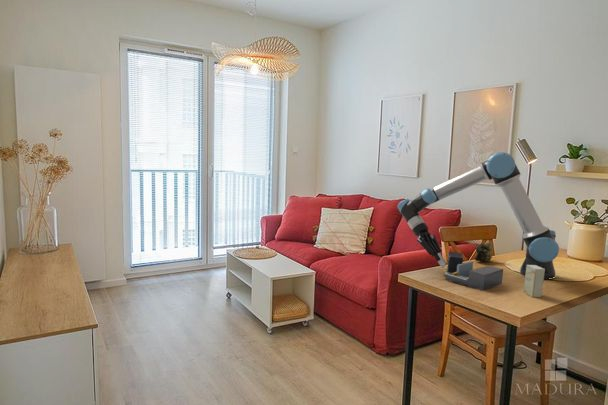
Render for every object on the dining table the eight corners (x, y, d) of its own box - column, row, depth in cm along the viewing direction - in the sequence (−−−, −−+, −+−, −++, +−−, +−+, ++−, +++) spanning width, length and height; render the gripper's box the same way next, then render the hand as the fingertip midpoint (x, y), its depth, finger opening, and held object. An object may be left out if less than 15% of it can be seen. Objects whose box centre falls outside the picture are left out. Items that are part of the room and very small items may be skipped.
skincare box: (522, 292, 175) (525, 264, 173) (532, 292, 175) (535, 264, 173) (532, 297, 168) (535, 268, 167) (542, 297, 169) (545, 268, 167)
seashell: (466, 258, 230) (468, 241, 229) (485, 258, 232) (487, 241, 230) (476, 263, 220) (478, 245, 219) (496, 263, 221) (498, 245, 220)
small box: (461, 279, 189) (463, 257, 188) (446, 278, 191) (448, 256, 190) (460, 273, 199) (462, 252, 198) (446, 272, 201) (448, 251, 200)
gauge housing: (501, 284, 185) (503, 269, 184) (481, 291, 174) (482, 275, 173) (465, 274, 199) (466, 260, 198) (443, 280, 188) (444, 265, 187)
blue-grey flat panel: (472, 275, 194) (473, 261, 193) (453, 280, 184) (454, 266, 183) (470, 274, 194) (471, 261, 194) (451, 280, 185) (452, 266, 184)
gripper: (421, 229, 216) (446, 267, 205) (405, 231, 208) (431, 271, 197) (430, 221, 211) (457, 259, 200) (415, 222, 203) (441, 263, 192)
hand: (444, 265), depth 198 cm, fingers closed
